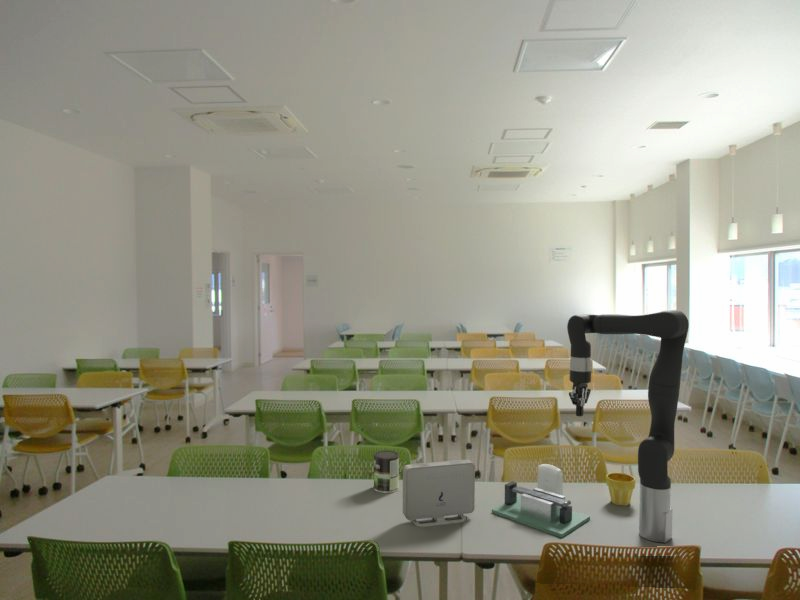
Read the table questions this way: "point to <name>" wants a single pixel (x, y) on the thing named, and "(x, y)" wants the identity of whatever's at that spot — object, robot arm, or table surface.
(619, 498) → the plant pot
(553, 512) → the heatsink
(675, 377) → the robot arm
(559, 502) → the grey flat bar
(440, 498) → the network device
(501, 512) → the mainboard
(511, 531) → the table surface
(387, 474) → the coffee can
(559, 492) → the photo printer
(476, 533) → the table surface
